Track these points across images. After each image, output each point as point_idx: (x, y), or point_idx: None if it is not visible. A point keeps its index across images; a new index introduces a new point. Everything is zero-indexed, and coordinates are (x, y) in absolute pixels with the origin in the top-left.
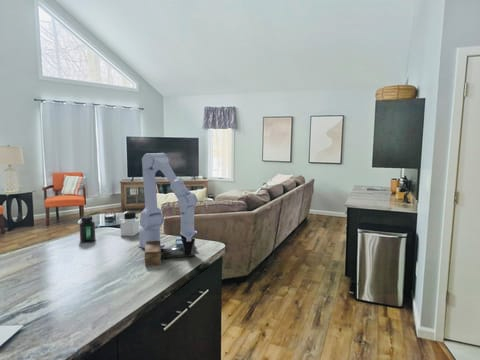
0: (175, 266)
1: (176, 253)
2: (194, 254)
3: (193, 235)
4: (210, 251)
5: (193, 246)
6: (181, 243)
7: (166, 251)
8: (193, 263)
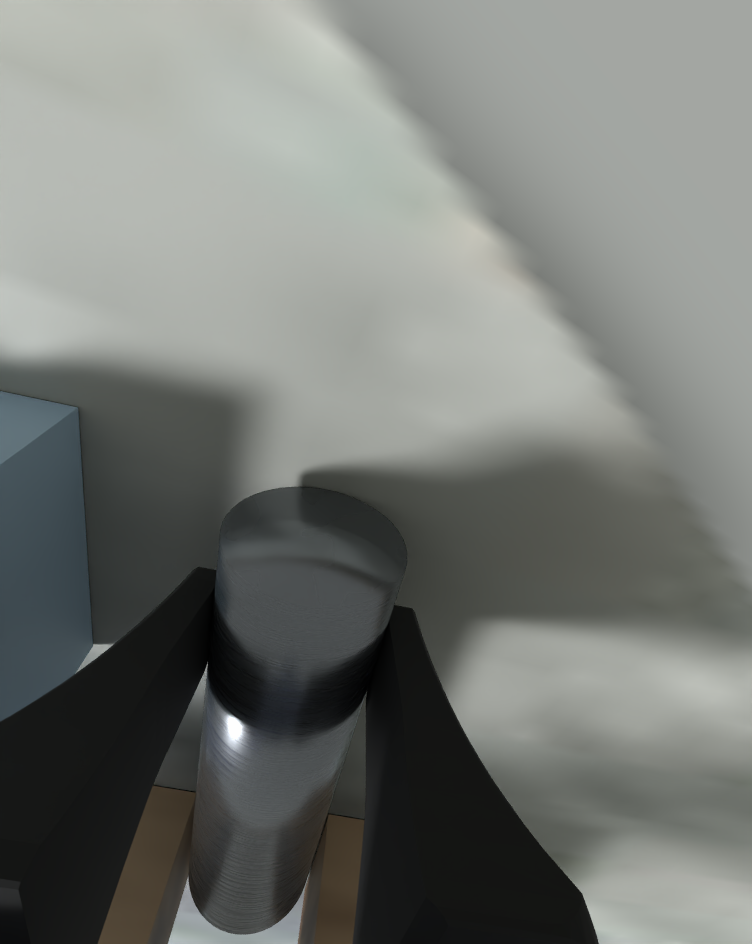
0: (581, 757)
1: (340, 772)
2: (398, 536)
3: (33, 858)
4: (170, 68)
5: (24, 473)
6: (1, 716)
7: (296, 880)
8: (631, 588)
